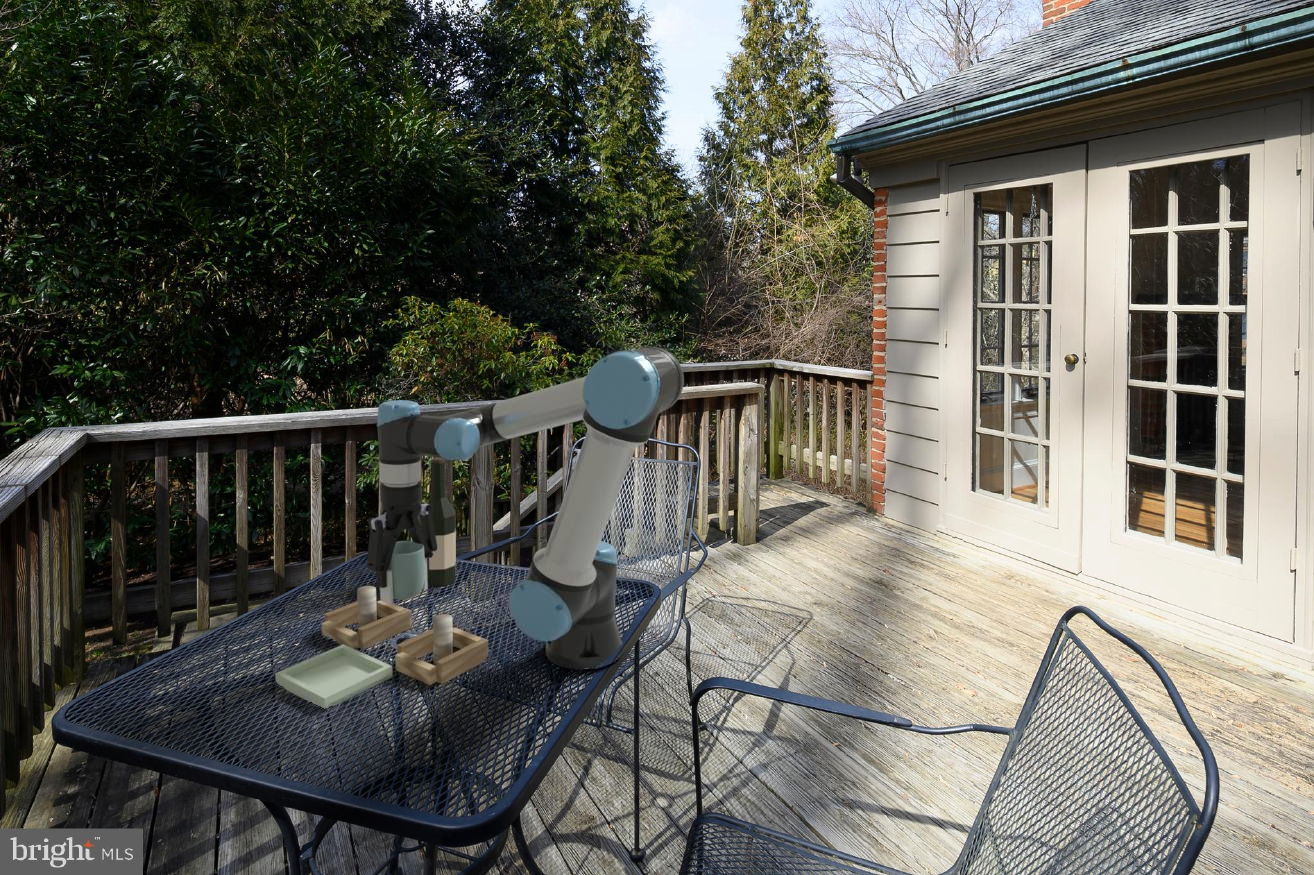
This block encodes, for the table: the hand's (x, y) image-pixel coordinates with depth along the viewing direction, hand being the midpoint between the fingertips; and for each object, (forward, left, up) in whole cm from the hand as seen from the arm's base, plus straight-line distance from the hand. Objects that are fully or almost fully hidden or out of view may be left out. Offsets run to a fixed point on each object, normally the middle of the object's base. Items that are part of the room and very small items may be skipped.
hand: (404, 594), depth 156 cm
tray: (-1, +17, -11) cm, 20 cm away
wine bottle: (+20, -27, -11) cm, 36 cm away
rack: (0, 0, -11) cm, 11 cm away
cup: (0, 0, -1) cm, 1 cm away
